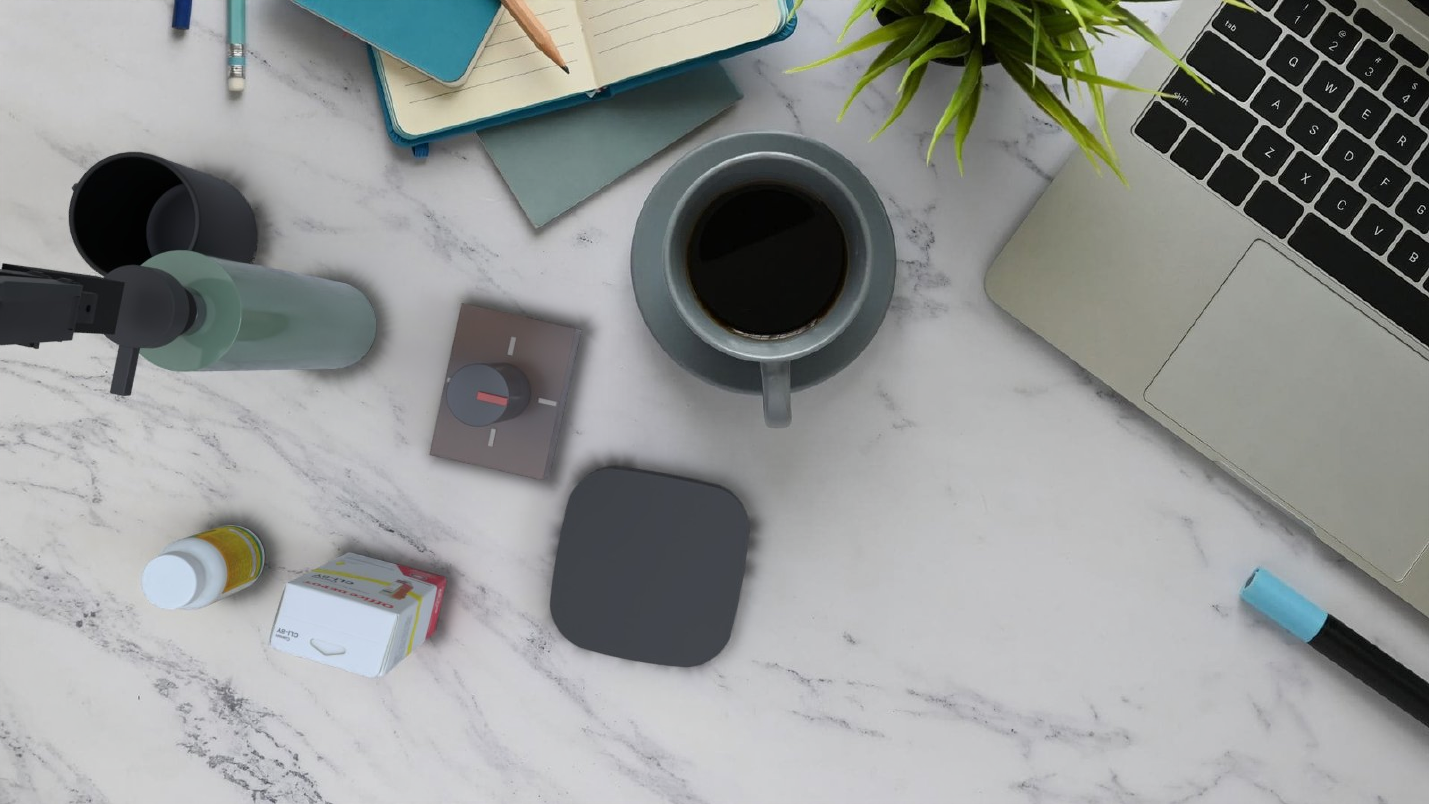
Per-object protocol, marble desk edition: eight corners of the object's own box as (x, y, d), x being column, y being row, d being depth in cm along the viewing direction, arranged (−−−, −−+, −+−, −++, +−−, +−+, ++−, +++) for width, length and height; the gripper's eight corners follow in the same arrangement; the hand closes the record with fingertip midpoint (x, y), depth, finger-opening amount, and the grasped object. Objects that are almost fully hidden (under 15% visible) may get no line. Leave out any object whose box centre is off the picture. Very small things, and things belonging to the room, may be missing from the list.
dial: (468, 413, 76) (438, 419, 68) (480, 357, 76) (452, 357, 68) (523, 426, 76) (500, 433, 68) (536, 370, 76) (514, 371, 68)
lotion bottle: (299, 272, 79) (123, 235, 56) (384, 291, 79) (243, 262, 56) (281, 358, 79) (99, 356, 56) (366, 377, 79) (219, 384, 56)
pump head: (124, 260, 54) (100, 256, 52) (202, 278, 54) (181, 274, 52) (100, 385, 54) (75, 385, 52) (177, 402, 54) (155, 404, 52)
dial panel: (471, 304, 79) (460, 302, 75) (581, 329, 79) (575, 328, 75) (440, 451, 79) (428, 455, 76) (549, 475, 79) (542, 480, 76)
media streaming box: (757, 489, 79) (759, 494, 76) (724, 666, 80) (724, 678, 77) (578, 456, 79) (572, 460, 76) (546, 634, 80) (539, 644, 77)
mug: (140, 142, 78) (64, 114, 69) (278, 204, 78) (220, 184, 69) (95, 251, 79) (13, 237, 70) (232, 313, 79) (168, 306, 70)
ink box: (450, 576, 79) (402, 614, 68) (434, 635, 80) (384, 682, 68) (348, 548, 79) (281, 580, 68) (332, 606, 80) (264, 649, 68)
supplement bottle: (233, 602, 80) (166, 636, 70) (187, 554, 80) (114, 581, 70) (281, 557, 80) (220, 584, 70) (235, 509, 79) (168, 530, 70)
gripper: (-185, 168, 26) (245, 260, 50) (-662, 61, 26) (-6, 204, 50) (-236, 443, 27) (216, 405, 50) (-707, 337, 27) (-34, 349, 50)
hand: (105, 305), depth 50 cm, fingers closed
